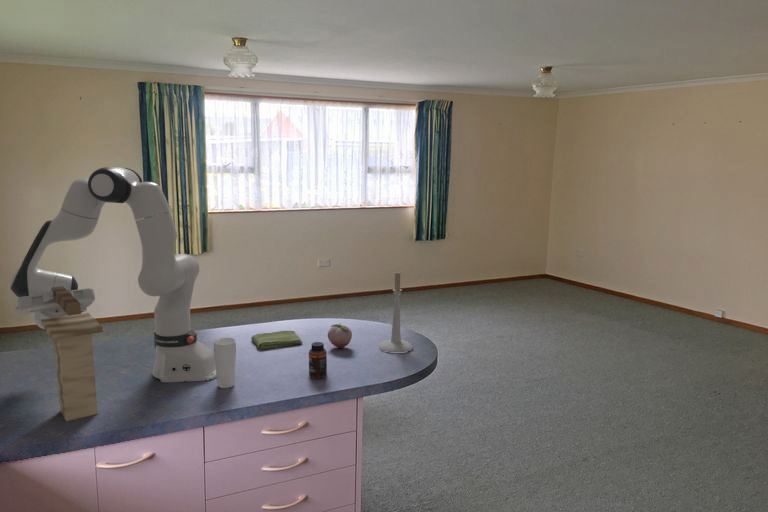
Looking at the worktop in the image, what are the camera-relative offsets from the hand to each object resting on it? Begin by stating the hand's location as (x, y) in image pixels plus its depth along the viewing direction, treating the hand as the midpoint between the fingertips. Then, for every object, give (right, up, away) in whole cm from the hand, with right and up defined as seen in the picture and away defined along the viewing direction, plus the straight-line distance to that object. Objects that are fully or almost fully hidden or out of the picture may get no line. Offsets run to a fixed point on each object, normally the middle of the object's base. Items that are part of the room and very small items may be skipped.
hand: (60, 292), depth 170 cm
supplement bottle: (+72, -30, +26) cm, 82 cm away
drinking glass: (+43, -31, +17) cm, 56 cm away
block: (+5, -3, -5) cm, 7 cm away
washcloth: (+52, -23, +58) cm, 81 cm away
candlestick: (+98, -25, +54) cm, 115 cm away
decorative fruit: (+77, -24, +53) cm, 97 cm away
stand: (+7, -34, -3) cm, 35 cm away
